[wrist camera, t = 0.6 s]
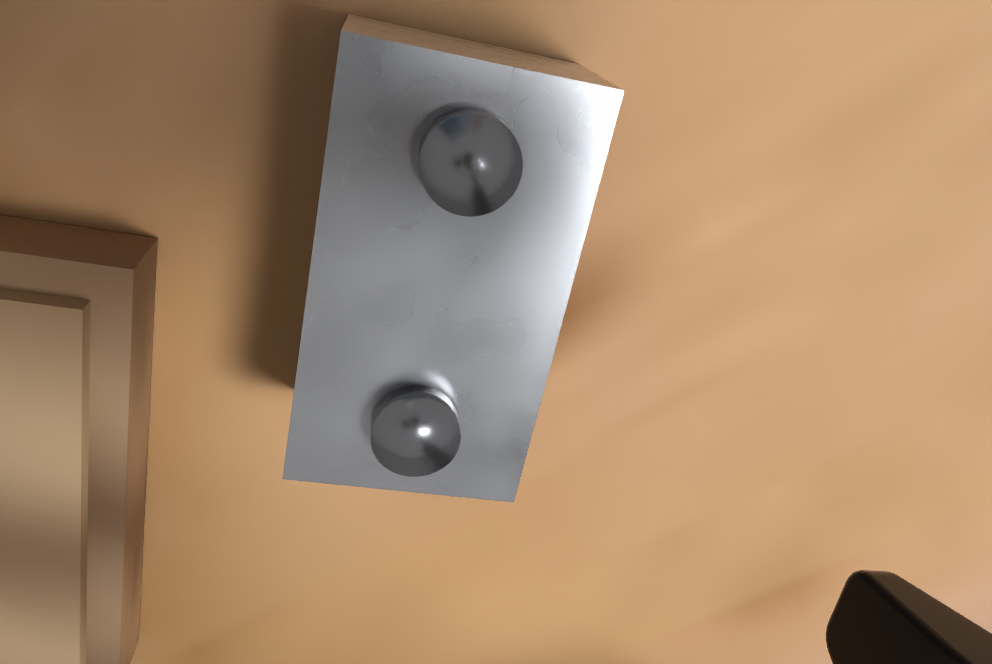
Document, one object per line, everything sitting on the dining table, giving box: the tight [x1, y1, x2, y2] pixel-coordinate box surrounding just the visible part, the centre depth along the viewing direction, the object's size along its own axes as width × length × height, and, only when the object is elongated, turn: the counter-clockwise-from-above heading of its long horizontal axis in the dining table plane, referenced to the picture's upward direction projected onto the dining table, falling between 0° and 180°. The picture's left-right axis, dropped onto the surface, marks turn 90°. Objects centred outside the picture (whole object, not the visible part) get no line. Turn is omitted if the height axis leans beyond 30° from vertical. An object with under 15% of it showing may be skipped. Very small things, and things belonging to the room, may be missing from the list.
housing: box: [283, 14, 624, 502], centre depth 17 cm, size 9×5×5 cm, turn 168°
